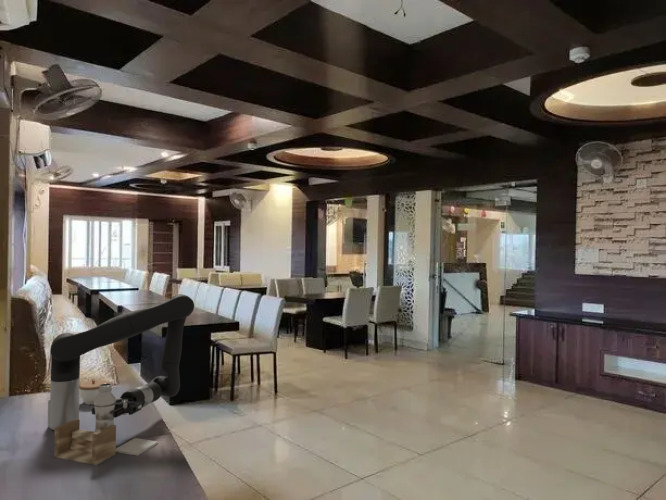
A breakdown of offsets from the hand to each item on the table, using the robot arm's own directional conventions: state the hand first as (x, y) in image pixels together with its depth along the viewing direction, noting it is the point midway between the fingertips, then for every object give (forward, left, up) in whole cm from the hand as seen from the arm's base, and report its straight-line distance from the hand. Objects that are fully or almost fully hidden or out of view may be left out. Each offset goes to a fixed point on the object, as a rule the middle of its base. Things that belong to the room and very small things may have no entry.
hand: (103, 413), depth 159 cm
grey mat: (+10, +3, -11) cm, 16 cm away
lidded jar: (-37, +35, -11) cm, 52 cm away
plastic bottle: (0, +1, -11) cm, 11 cm away
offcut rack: (0, -7, -11) cm, 13 cm away
